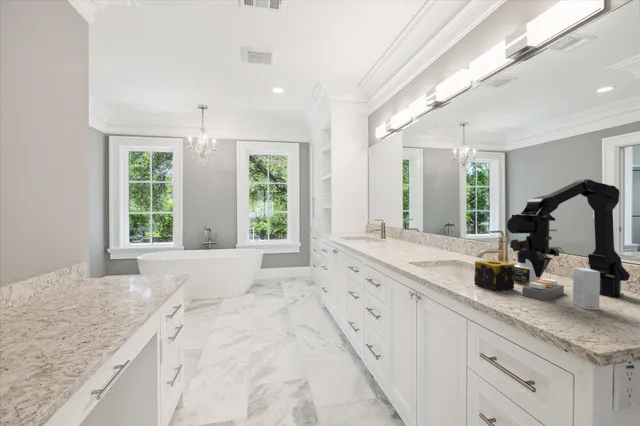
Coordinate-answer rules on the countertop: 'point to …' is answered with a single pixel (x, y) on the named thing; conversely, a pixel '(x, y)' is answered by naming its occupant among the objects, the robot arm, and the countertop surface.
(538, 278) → the medicine bottle
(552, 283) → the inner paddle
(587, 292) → the skincare box
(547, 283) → the middle paddle
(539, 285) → the block
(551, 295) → the block
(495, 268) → the yellow and black cube
